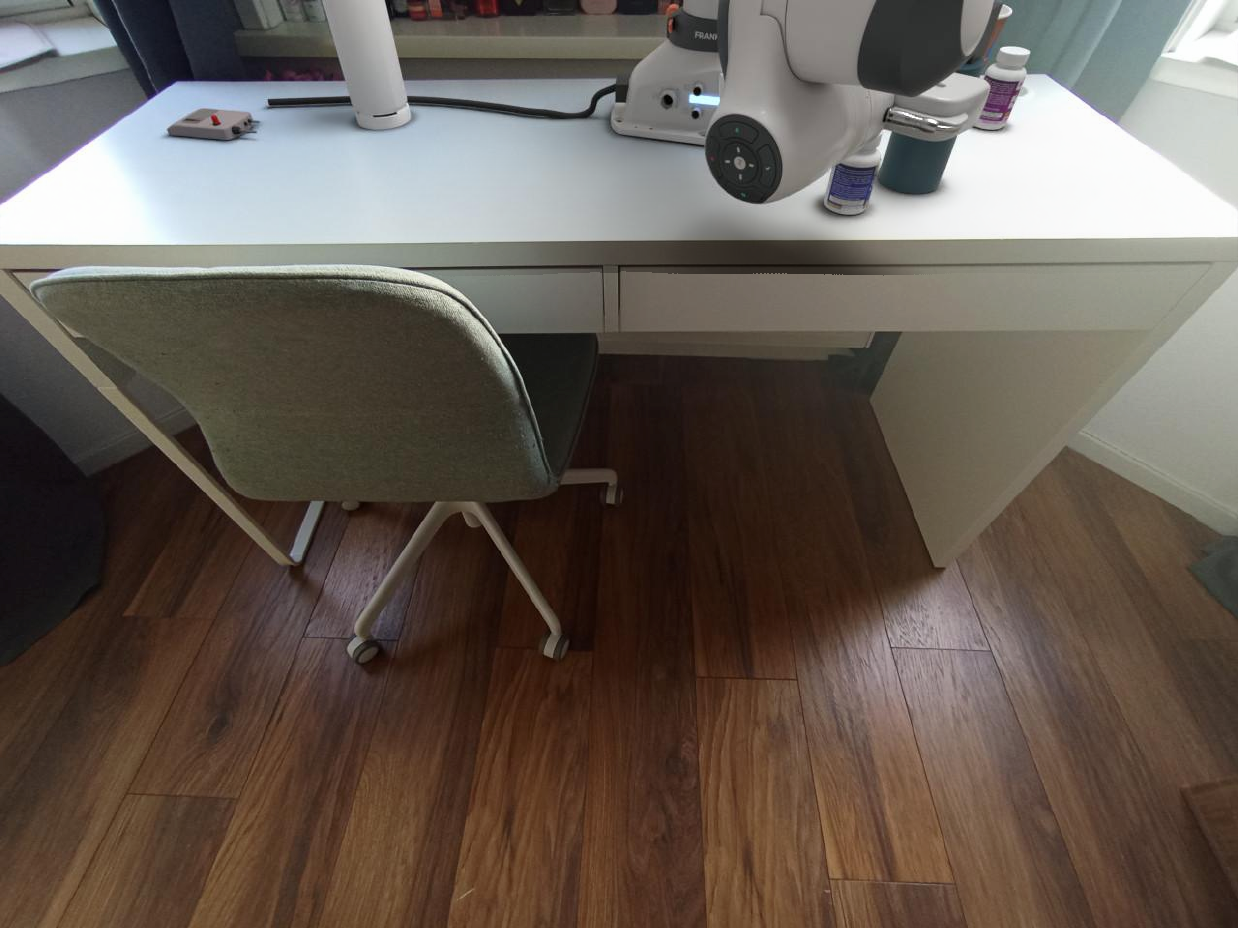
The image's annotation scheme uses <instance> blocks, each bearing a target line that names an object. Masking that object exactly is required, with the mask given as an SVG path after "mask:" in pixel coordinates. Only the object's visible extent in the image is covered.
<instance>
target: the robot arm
mask: <svg viewBox="0 0 1238 928" xmlns="http://www.w3.org/2000/svg"><path fill="white" fill-rule="evenodd" d="M682 1H683V2H682V6H680V5H678V4H676V3H672V4H670V5H668V8H667V9H666V13H665V19H666V39H665V41H664V42H662V43H661V44H660V45H659V46H657V47H656V48H655V49H654V50H653V51H651V52H650V53H649V54H648V55H647V56H646V57H644V58H643V59H642V60H640V61H639V62H638V64H637V65H635V67H634V69H633V70H632V72H631V74H627V73H626V74H625V73H623V74H622V73H618V74H617V75H616V79H615V83H613V84H611V85H608V86H605V87H603V88H601V89H599V90H598V91H596V92H595V93H594V94H593V95H592V97H591V100H590V104H589V106H588V108H587V109H585V110H583V111H580V112H564V111H557V110H552V109H545V108H533V107H524V106H517V105H511V104H503V103H496V102H488V101H481V100H480V101H479V100H473V99H463V98H452V97H441V96H440V97H438V96H423V95H407V103H408V104H423V105H425V104H426V105H427V104H428V105H441V106H452V107H463V108H464V107H465V108H474V109H480V110H481V109H482V110H489V111H498V112H506V113H511V114H517V115H523V116H533V117H546V118H552V119H557V120H559V119H560V120H571V119H572V120H573V119H586V118H589V117H591V116H592V115H594V113H595V111H596V110H597V105H598V102H599V100H601V98H604V97H605V96H608V95H610V94H613V93H614V97H615V98H614V99H615V101H614V103H615V104H614V105H613V107H612V110H611V114H610V115H611V116H610V126H611V128H612V130H614V131H615V133H617V134H619V135H622V136H623V135H624V136H631V137H639V138H647V139H654V140H662V141H670V142H678V143H685V144H693V145H699V146H704V157H705V161H706V164H707V168H708V170H709V172H710V174H711V176H712V178H713V179H714V180H715V182H716V183H717V184H718V185H719V186H720V188H722V190H723V191H724V192H725V193H727V194H728V195H730V196H731V197H732V198H734V199H736V200H738V201H741V202H744V203H748V204H752V205H767V204H771V203H776V202H778V201H781V200H784V199H786V198H789V197H791V196H793V195H795V194H797V193H799V192H801V191H802V190H804V189H806V188H807V187H809V186H811V185H812V184H813V183H815V182H817V181H818V180H819V179H821V178H822V177H823V176H825V175H826V174H827V173H828V172H829V171H831V169H832V167H833V166H835V165H837V164H839V163H841V162H843V161H845V160H846V159H848V158H849V157H850V156H852V155H853V154H855V153H856V152H858V151H859V150H860V149H862V148H863V147H865V146H866V145H868V144H869V143H870V142H872V141H873V140H874V139H875V138H876V137H877V136H878V135H879V134H880V133H881V131H882V130H883V131H884V130H885V131H888V132H896V133H899V134H903V135H906V136H910V137H914V138H917V139H921V140H927V141H944V140H947V139H950V138H953V137H955V136H957V135H958V136H959V135H961V134H963V133H965V132H966V131H968V130H970V129H972V128H973V127H975V126H974V125H975V124H976V123H977V121H978V119H979V117H980V115H981V113H982V110H983V108H984V106H985V103H986V100H987V98H988V95H989V92H990V85H989V83H988V82H987V81H986V80H984V79H983V78H981V77H979V78H977V77H972V76H968V75H963V74H959V73H954V72H955V71H957V70H958V69H959V68H960V67H962V66H963V65H964V64H965V63H966V62H967V61H968V60H969V59H970V58H971V57H972V56H973V55H974V53H975V51H976V50H977V48H978V45H979V43H980V41H981V38H982V36H983V33H984V31H985V29H986V26H987V24H988V21H989V18H990V14H991V11H992V7H993V2H995V0H682ZM267 104H268V106H269V107H278V106H279V107H280V106H281V107H282V106H283V107H284V106H307V105H308V106H309V105H311V106H312V105H335V104H336V105H337V104H352V102H351V98H350V95H340V96H339V95H338V96H337V95H336V96H311V97H309V96H308V97H307V96H306V97H285V98H284V97H283V98H281V97H279V98H267ZM958 136H957V137H958Z"/></svg>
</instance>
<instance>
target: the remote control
mask: <svg viewBox="0 0 1238 928" xmlns="http://www.w3.org/2000/svg"><path fill="white" fill-rule="evenodd" d="M255 123H256V124H260V123H261V122H260V120H255V119H253V115H252V114H251V112H250V111H243V110H242V111H241V110H240V111H239V110H230V109H229V110H228V109H218V108H216V109H215V108H204V107H202V108H198V109H195V110H194V111H193V112H190V113H188V114H187V115H185V116H183V117H182V118H180V119H178V120H176V121H175V122H174V123H172V124H171V125H170V126H168V127H167V128H166V131H167V133H168V135H169V136H174V137H175V136H178V137H187V138H188V137H189V138H199V139H211V140H221V141H230V140H234V139H236V138H238V137H240V136H241V135H243V134H258V131H257V130H250V129H251V128H253V127H254V126H255Z"/></svg>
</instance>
